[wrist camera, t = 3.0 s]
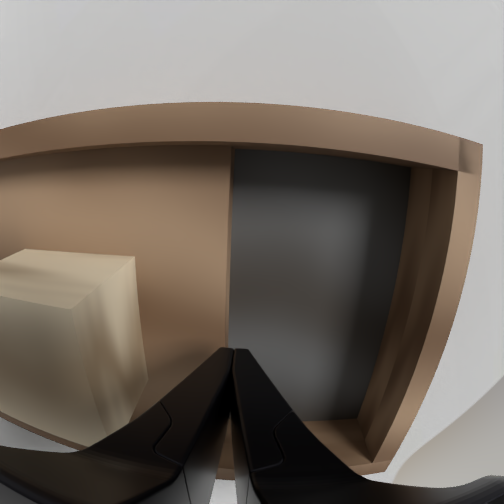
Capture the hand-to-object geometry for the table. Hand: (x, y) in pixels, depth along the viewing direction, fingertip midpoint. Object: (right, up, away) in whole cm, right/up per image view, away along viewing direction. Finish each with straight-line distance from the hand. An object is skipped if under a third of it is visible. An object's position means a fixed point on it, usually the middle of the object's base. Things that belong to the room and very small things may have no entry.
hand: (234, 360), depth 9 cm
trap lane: (-10, +2, +3) cm, 11 cm away
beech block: (-6, +1, +1) cm, 6 cm away
